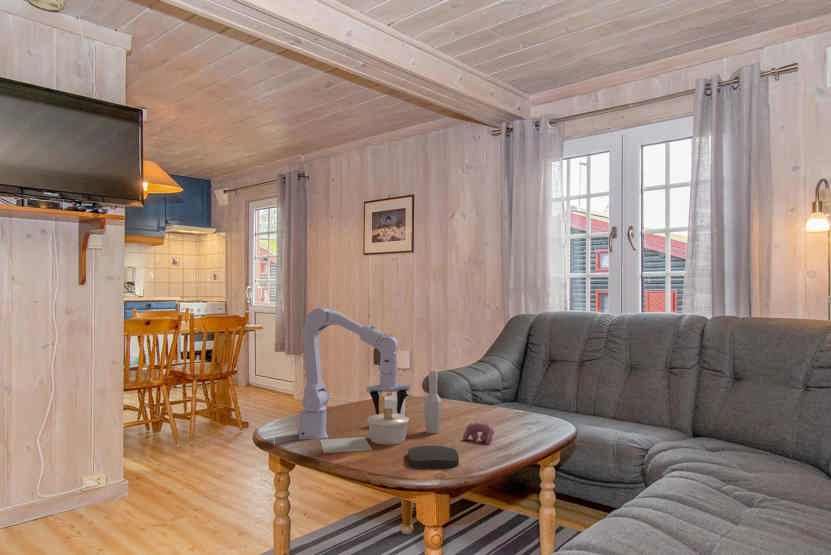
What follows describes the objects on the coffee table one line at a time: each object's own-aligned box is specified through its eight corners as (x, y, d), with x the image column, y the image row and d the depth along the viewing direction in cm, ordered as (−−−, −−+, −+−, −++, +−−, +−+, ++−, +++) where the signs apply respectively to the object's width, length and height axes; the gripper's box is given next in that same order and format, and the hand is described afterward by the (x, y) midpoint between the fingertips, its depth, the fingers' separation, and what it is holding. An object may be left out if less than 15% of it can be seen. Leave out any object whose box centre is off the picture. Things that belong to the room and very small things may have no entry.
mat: (324, 454, 173) (324, 452, 173) (319, 440, 188) (319, 439, 188) (372, 451, 177) (372, 449, 177) (364, 438, 192) (364, 437, 192)
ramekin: (399, 448, 180) (399, 427, 180) (361, 444, 184) (361, 423, 185) (412, 438, 193) (413, 417, 193) (377, 434, 197) (377, 414, 197)
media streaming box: (409, 469, 161) (409, 459, 161) (407, 454, 175) (407, 444, 175) (460, 469, 162) (460, 458, 162) (453, 454, 176) (453, 444, 176)
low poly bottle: (440, 435, 197) (440, 371, 197) (422, 433, 198) (422, 371, 199) (442, 430, 203) (443, 369, 204) (425, 429, 205) (426, 368, 205)
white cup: (402, 428, 206) (402, 400, 206) (381, 426, 208) (381, 399, 208) (407, 423, 214) (407, 396, 214) (386, 421, 215) (387, 395, 215)
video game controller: (493, 447, 188) (496, 426, 191) (488, 444, 185) (492, 422, 188) (466, 442, 193) (470, 422, 196) (460, 439, 190) (465, 419, 193)
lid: (370, 426, 180) (370, 414, 180) (364, 416, 194) (364, 405, 194) (413, 424, 183) (413, 412, 183) (403, 415, 197) (404, 403, 197)
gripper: (369, 375, 183) (368, 417, 183) (412, 373, 187) (411, 415, 187) (365, 371, 190) (364, 412, 190) (407, 370, 194) (406, 410, 193)
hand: (387, 413), depth 189 cm, fingers open, 7 cm apart
